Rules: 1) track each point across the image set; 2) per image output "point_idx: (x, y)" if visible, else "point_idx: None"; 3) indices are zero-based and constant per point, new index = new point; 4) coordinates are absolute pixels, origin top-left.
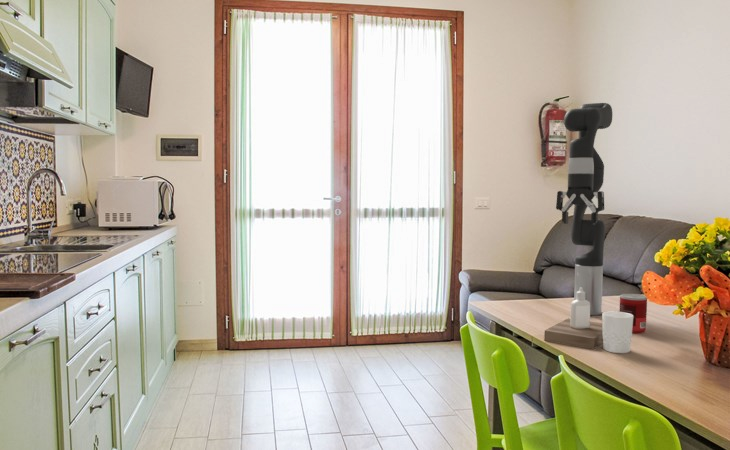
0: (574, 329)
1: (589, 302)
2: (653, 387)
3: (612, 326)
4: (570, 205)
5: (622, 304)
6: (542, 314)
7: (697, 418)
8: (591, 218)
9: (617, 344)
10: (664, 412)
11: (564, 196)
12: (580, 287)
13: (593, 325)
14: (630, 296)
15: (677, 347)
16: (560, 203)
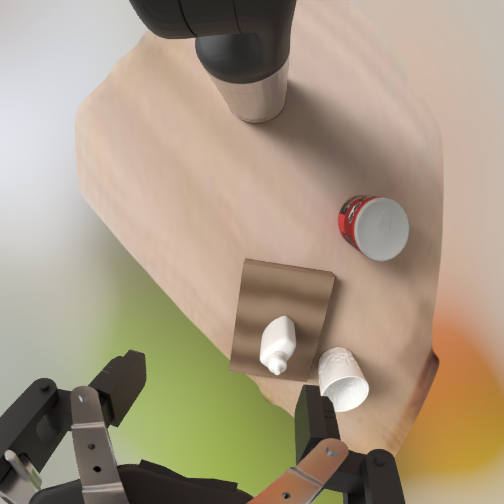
0: None
1: (294, 347)
2: (359, 445)
3: (334, 400)
4: (114, 456)
5: (356, 247)
6: (174, 166)
7: None
8: (296, 439)
9: (338, 382)
10: None
11: (36, 480)
12: (275, 371)
13: (298, 302)
14: (376, 225)
15: (416, 302)
16: (52, 445)
